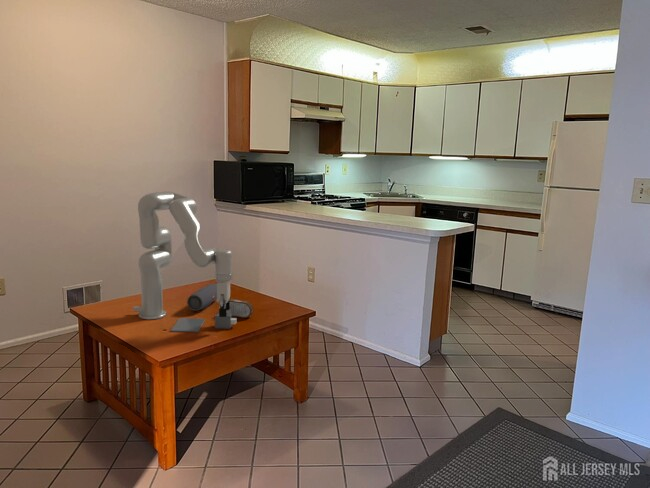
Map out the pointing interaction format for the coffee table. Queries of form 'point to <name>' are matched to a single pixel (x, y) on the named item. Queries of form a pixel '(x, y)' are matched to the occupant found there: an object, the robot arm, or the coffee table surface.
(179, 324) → the slate board
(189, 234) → the robot arm
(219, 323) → the block
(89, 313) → the coffee table surface
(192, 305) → the bluetooth speaker
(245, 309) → the tin
